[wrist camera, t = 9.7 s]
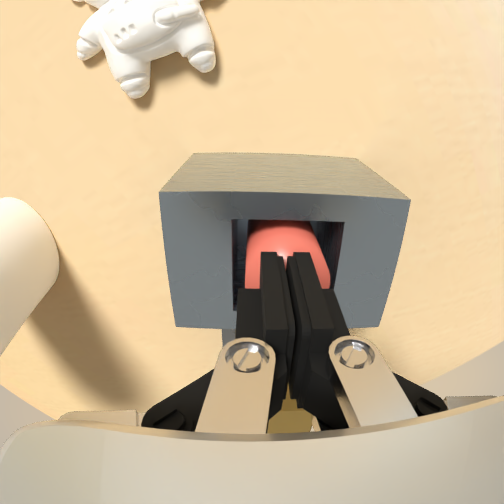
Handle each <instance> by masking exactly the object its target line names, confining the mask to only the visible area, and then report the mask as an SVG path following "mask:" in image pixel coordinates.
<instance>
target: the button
mask: <svg viewBox="0 0 504 504" xmlns="http://www.w3.org/2000/svg"><path fill="white" fill-rule="evenodd" d="M261 252H277V256H283V259H284V265H285V270H286V264H287V256H293V252H310V254H311V257H312V260H313V263H314V266H315V269H316V272H317V275H318V278H319V281H320V284H321V287H322V289H329V286H330V273H329V269H328V267H327V264H326V261H325V259H324V256H323V254H322V251H321V249H320V246H319V243H318V241H317V238H316V236H315V233H314V231H313V228H312V226H311V223H310V221H302V220H259V219H249V220H248V224H247V245H246V271H245V288H251V289H259V286H260V257H261Z"/></svg>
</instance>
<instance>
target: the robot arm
mask: <svg viewBox="0 0 504 504" xmlns="http://www.w3.org/2000/svg"><path fill="white" fill-rule="evenodd" d="M288 384H289V393H290V399H296V402H297V409H300V408H303V409H304V410H306V411H307V412H309V413H310V414H312V415H311V421H312V425H313V428H314V430H315V432H300V433H275V434H267V433H268V426H269V420H270V419H271V418H272V417H273V416H274V415H276V414H277V413H278V412H279V411H280V410H281V409H282V403H283V400H285V399H286V394H287V387H288ZM0 504H504V395H503V396H500V397H497V396H465V397H464V396H463V397H446V398H445V399H444V400H442V399H441V398H440V397H439V396H437V395H435V394H434V393H432V392H430V391H428V390H426V389H424V388H422V387H420V386H419V385H417V384H415V383H413V382H411V381H409V380H407V379H405V378H403V377H401V376H399V375H397V374H395V373H393V372H392V371H391V370H390V368H389V366H388V365H387V363H386V361H385V360H384V358H383V356H382V355H381V353H380V352H379V350H378V348H377V347H376V346H375V345H374V344H373V343H372V342H370V341H369V340H367V339H365V338H362V337H358V336H350V333H349V331H348V328H347V325H346V322H345V319H344V316H343V314H342V311H341V308H340V305H339V303H338V300H337V297H336V295H335V292H334V290H333V289H322V287H321V284H320V281H319V278H318V275H317V272H316V269H315V266H314V263H313V260H312V257H311V254H310V252H293V256H287V264H286V270H285V265H284V259H283V256H277V252H261V257H260V286H259V289H251V288H238V300H237V318H236V337H235V340H233V341H231V342H228V343H227V344H226V345H225V346H224V347H223V348H222V350H221V351H220V353H219V356H218V360H217V363H216V366H215V369H213V370H211V371H210V372H208V373H207V374H205V375H204V376H202V377H200V378H199V379H197V380H196V381H194V382H192V383H191V384H189V385H188V386H186V387H184V388H183V389H181V390H179V391H178V392H176V393H174V394H173V395H171V396H169V397H168V398H166V399H164V400H163V401H161V402H159V403H158V404H156V405H154V406H153V407H152V408H150V409H149V410H148V411H147V412H145V413H137V411H136V410H118V411H74V412H68V413H66V414H64V415H62V416H61V417H60V418H59V419H58V420H51V421H42V422H37V423H32V424H29V425H26V426H23V427H21V428H20V429H17V430H16V431H15V432H14V433H13V434H11V435H10V437H9V438H8V439H7V440H6V441H5V443H4V444H3V446H2V447H1V449H0Z"/></svg>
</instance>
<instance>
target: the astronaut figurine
mask: <svg viewBox="0 0 504 504" xmlns="http://www.w3.org/2000/svg"><path fill="white" fill-rule="evenodd" d="M73 1H77V2H82V1H85V2H86V3H88V4H90V5H92V6H95V7H97V8H99V10H98V11H96V12H95V13H94V14H93V15H92V16H91V17H90V18H89V19H88V20H87V21H86V23H85V24H84V25H83V27H82V29H81V30H80V32H79V36H80V37H81V38H80V39H79V40H78V41H77V50H78V53H77V56H78V58H79V59H80V60H87V59H89V58H91V57H93V56H94V55H96V54H97V53H98V52H100V51H101V50H102V48H103V50H104V52H105V55H106V58H107V61H108V64H109V67H110V70H111V72H112V74H113V76H114V78H115V80H116V81H118V82H120V83H121V86H120V87H121V89H122V90H123V91H124V92H126V94H127V95H128V96H129V97H130V98H133V99H136V98H140V97H142V96H143V95H145V93H146V92H147V91H148V90H149V87H150V75H151V74H150V71H151V70H150V68H151V60H155V59H158V58H161V57H164V56H167V55H169V54H172V53H174V52H179V53H180V54H181V55H182V57H187V58H188V61H189V63H190V64H191V65H192V66H193V67H195V68H196V69H197V70H199V71H200V72H203V73H205V72H209V71H211V70H213V68H214V67H215V64H216V56H215V52H214V41H213V37H212V33H211V30H210V27H209V24H208V22H207V19H206V17H205V14H204V12H203V10H202V8H201V5H200V1H202V0H73Z"/></svg>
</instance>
